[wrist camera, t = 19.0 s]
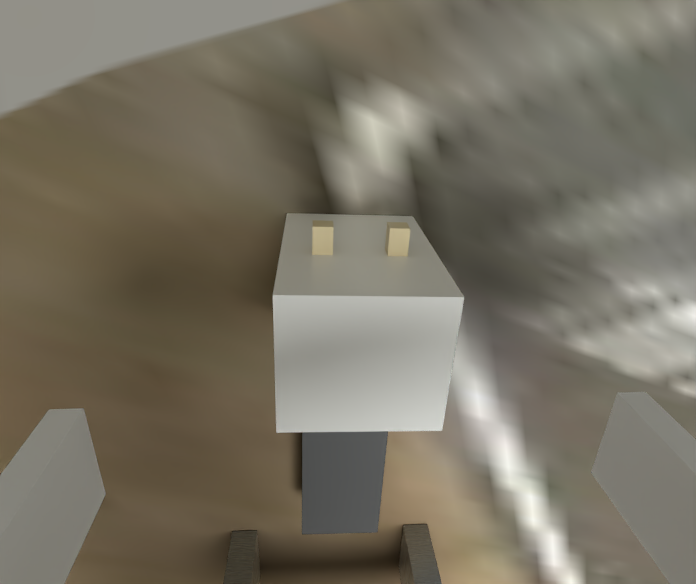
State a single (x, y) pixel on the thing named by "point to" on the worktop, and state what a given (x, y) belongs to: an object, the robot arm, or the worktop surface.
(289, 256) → the plug
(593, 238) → the worktop surface
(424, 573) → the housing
